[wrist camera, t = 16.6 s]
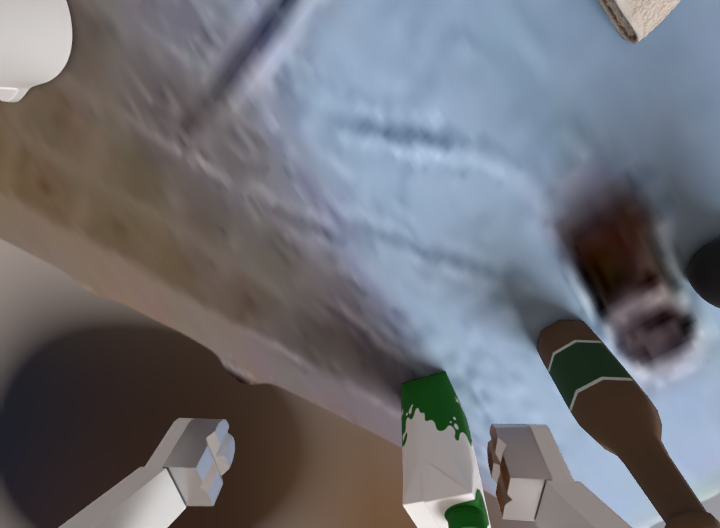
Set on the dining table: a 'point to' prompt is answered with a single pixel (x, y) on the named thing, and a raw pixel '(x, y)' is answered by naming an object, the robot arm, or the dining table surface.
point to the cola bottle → (706, 273)
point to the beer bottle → (619, 418)
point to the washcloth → (637, 16)
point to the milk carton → (439, 458)
